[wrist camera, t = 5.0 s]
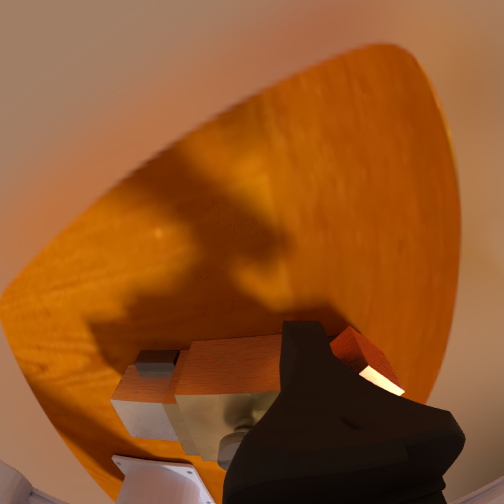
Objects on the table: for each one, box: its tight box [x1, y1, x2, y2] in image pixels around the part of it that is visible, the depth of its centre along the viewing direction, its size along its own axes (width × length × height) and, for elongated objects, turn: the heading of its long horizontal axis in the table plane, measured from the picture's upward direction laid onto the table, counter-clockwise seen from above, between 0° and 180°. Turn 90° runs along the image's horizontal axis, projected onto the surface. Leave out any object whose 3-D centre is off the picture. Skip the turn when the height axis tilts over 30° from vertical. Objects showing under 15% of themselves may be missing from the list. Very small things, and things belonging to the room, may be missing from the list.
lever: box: [217, 325, 404, 471], centre depth 10 cm, size 8×2×2 cm, turn 140°
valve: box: [110, 334, 339, 461], centre depth 14 cm, size 6×14×5 cm, turn 97°
